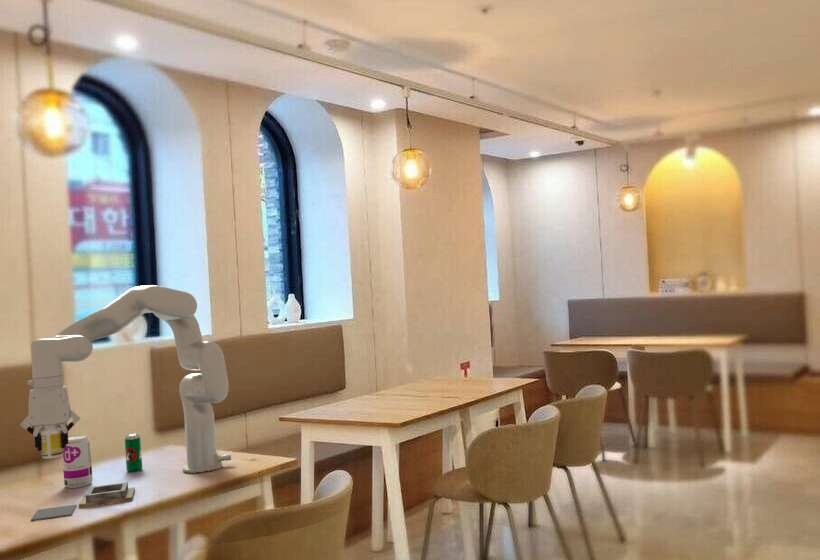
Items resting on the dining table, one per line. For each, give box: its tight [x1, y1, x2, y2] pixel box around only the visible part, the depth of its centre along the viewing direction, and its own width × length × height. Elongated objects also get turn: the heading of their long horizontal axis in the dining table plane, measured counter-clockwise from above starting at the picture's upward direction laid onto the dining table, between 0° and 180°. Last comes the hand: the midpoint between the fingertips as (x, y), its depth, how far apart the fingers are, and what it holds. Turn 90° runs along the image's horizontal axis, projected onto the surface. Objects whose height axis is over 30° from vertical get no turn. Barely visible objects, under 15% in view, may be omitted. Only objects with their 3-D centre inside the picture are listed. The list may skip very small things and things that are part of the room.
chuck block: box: [78, 481, 136, 509], centre depth 219 cm, size 14×12×3 cm
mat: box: [30, 504, 78, 522], centre depth 207 cm, size 10×10×1 cm
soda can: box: [124, 433, 143, 473], centre depth 254 cm, size 5×5×12 cm
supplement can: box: [61, 435, 93, 489], centre depth 239 cm, size 8×8×15 cm
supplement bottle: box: [40, 424, 63, 460], centre depth 208 cm, size 5×5×10 cm
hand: (52, 447), depth 208 cm, fingers closed on supplement bottle, 5 cm apart
